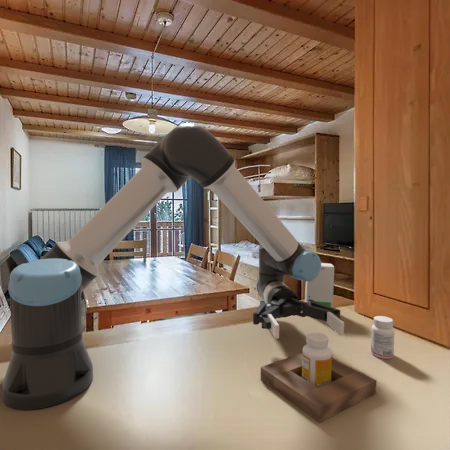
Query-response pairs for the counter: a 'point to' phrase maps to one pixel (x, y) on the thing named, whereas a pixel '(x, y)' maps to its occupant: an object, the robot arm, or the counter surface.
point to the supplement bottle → (316, 360)
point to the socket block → (323, 396)
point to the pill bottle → (382, 337)
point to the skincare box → (321, 286)
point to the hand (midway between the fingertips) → (310, 330)
